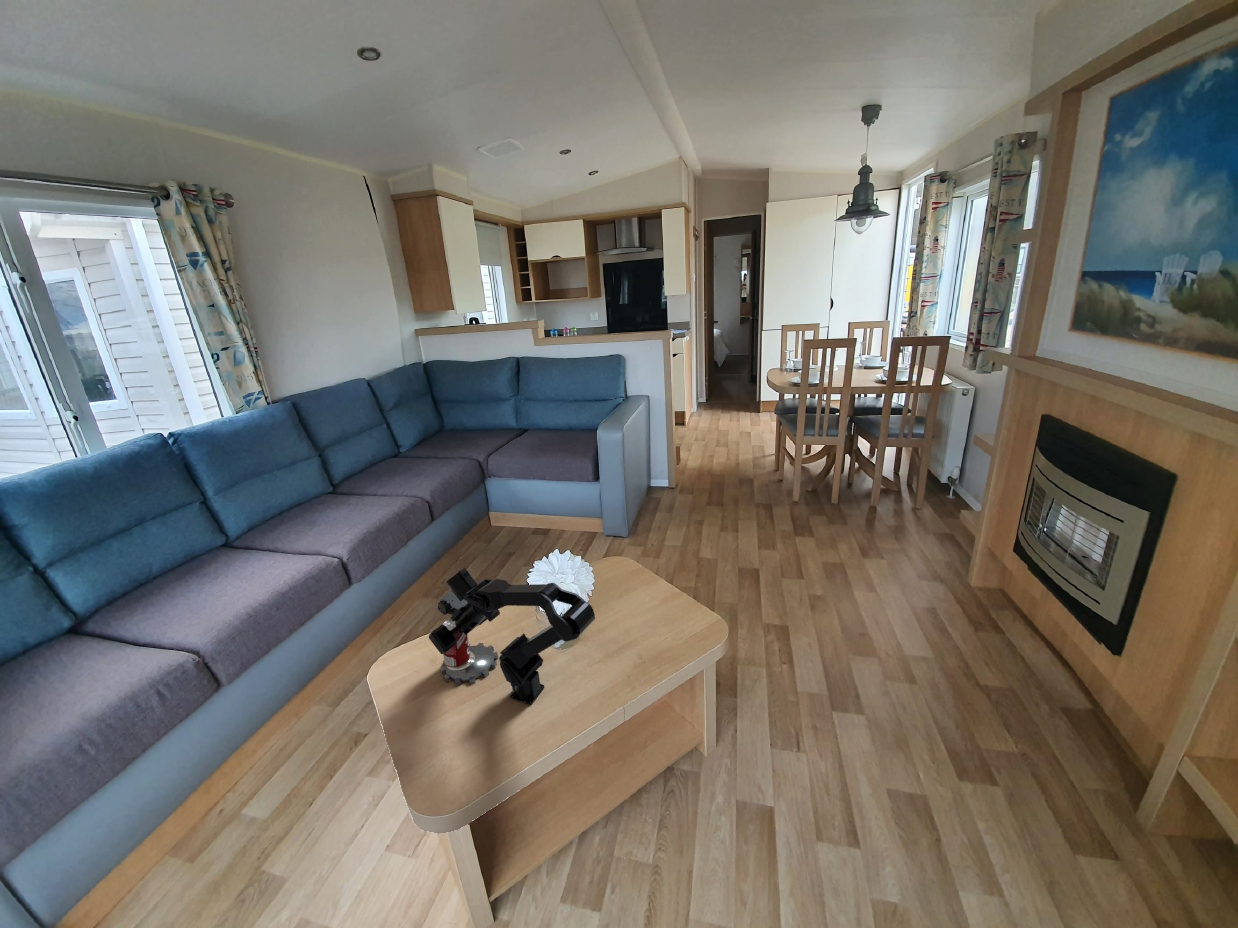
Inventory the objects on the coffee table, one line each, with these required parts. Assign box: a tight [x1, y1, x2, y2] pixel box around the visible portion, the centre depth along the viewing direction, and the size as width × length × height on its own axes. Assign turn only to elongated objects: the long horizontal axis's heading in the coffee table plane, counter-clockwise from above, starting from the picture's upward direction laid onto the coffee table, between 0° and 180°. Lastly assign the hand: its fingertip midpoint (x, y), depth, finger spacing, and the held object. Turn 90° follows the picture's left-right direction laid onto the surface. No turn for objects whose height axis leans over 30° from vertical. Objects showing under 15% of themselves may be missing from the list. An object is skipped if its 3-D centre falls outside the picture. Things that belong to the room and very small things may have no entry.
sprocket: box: [440, 642, 499, 686], centre depth 136 cm, size 15×15×1 cm
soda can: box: [442, 618, 470, 668], centre depth 134 cm, size 7×7×12 cm
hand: (452, 635), depth 134 cm, fingers open, 7 cm apart
